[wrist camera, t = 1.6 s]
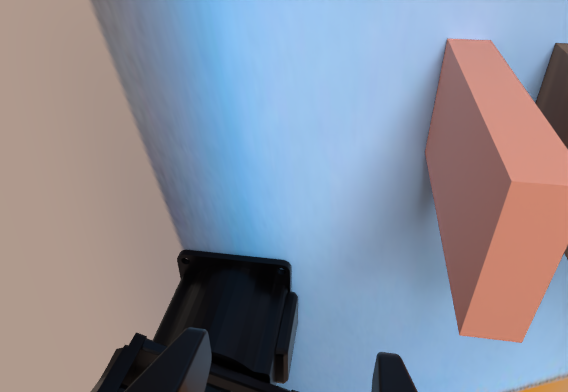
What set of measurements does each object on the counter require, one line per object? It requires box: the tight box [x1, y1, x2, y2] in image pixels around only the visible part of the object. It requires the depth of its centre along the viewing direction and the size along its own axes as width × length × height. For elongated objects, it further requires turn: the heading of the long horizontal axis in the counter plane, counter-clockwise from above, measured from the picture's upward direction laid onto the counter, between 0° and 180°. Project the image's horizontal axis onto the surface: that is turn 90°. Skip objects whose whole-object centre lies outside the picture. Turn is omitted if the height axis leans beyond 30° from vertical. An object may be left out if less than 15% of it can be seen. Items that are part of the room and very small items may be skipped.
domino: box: [425, 39, 568, 343], centre depth 15 cm, size 2×5×10 cm, turn 0°
